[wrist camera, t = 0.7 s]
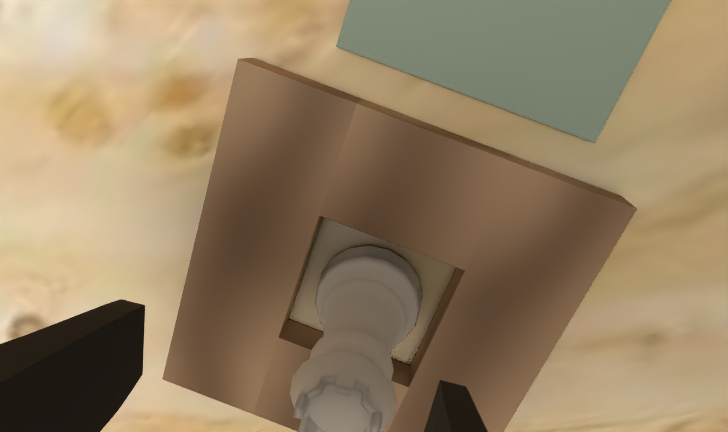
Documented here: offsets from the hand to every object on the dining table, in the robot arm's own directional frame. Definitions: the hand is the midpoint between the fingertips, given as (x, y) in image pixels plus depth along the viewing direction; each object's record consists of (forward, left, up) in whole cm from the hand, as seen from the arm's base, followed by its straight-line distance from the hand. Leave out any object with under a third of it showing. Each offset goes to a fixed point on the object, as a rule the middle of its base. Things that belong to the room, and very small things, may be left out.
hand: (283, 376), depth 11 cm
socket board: (-2, +2, -10) cm, 10 cm away
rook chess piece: (-2, +2, -10) cm, 10 cm away
